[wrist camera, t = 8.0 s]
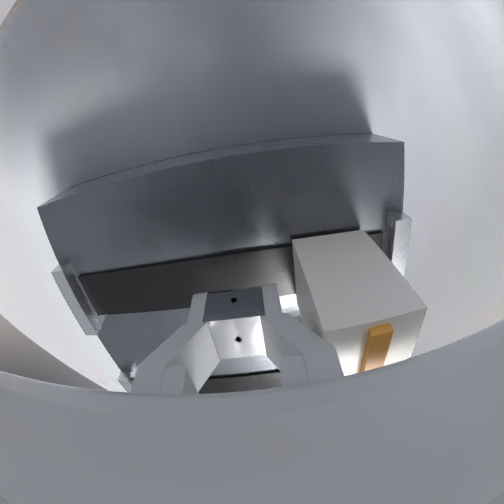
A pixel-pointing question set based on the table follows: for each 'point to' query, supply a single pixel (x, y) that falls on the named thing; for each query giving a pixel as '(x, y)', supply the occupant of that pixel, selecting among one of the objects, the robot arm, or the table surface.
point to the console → (215, 236)
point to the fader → (356, 300)
